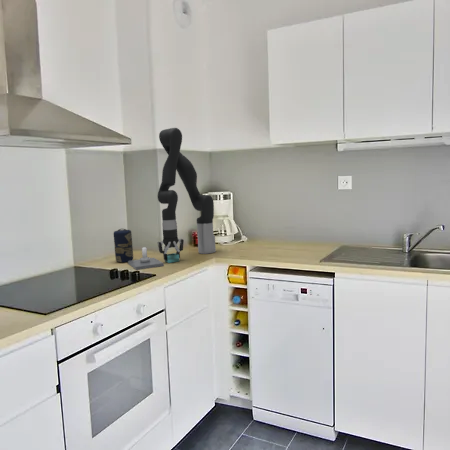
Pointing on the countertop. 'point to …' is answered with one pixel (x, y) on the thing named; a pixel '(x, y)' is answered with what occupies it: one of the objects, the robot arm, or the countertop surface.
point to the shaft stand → (145, 261)
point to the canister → (123, 245)
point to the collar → (172, 257)
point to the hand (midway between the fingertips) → (171, 259)
